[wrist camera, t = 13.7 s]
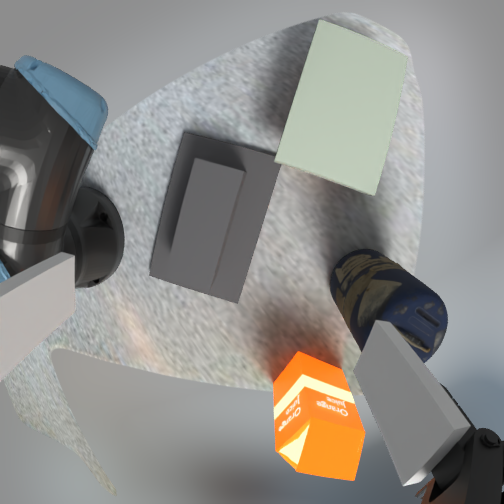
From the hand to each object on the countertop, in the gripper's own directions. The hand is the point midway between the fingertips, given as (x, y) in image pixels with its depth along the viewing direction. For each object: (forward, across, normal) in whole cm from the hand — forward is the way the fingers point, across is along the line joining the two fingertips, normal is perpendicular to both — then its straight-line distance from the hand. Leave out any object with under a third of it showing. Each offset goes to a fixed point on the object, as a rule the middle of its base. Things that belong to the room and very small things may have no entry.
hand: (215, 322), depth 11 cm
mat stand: (+27, -4, -1) cm, 28 cm away
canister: (+27, +18, -4) cm, 33 cm away
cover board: (+21, +8, +16) cm, 28 cm away
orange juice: (+27, +15, -22) cm, 38 cm away
